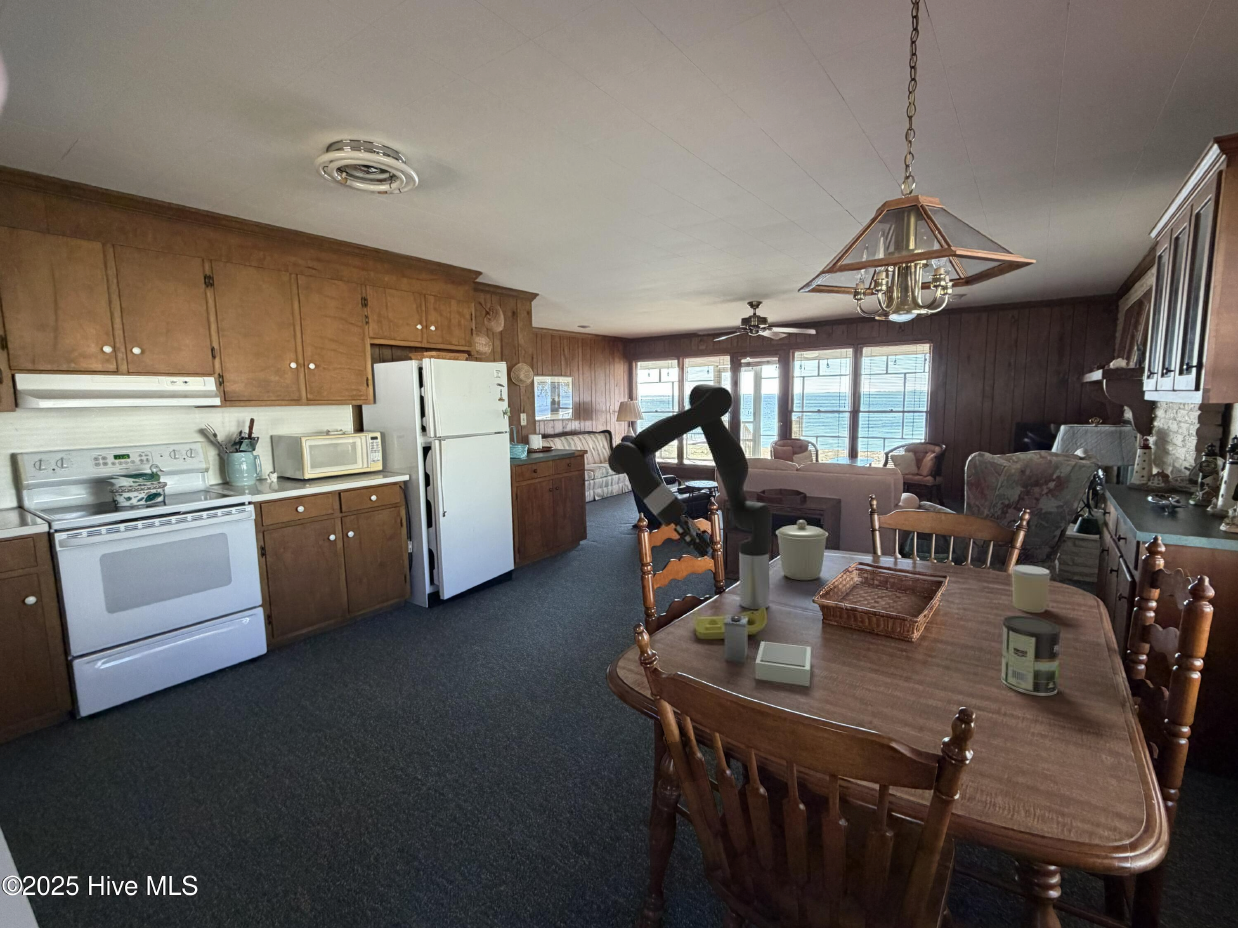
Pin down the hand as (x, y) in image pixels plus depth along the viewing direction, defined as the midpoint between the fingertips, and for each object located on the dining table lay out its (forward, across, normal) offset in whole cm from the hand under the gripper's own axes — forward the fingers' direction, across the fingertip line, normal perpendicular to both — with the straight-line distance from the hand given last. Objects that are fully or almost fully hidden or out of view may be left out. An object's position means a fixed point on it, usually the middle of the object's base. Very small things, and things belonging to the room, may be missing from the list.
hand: (707, 551), depth 143 cm
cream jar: (+81, +44, -53) cm, 106 cm away
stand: (+32, -7, +4) cm, 34 cm away
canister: (+38, +67, -6) cm, 77 cm away
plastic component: (+24, +13, +14) cm, 30 cm away
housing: (+25, -2, +12) cm, 28 cm away
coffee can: (+68, -5, -35) cm, 77 cm away
